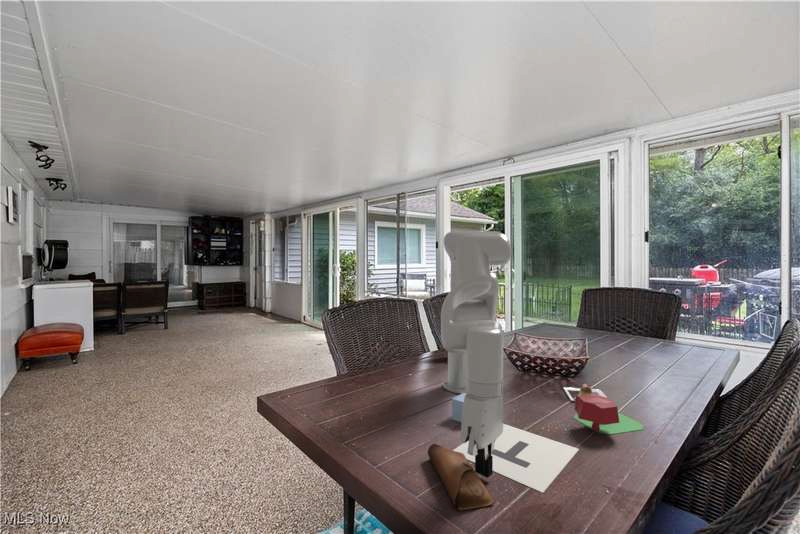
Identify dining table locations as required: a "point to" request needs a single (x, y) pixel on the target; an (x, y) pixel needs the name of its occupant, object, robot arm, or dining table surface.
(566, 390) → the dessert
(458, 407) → the blue cube
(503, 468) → the letter mat
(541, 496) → the dining table surface
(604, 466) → the dining table surface
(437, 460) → the sunglasses case
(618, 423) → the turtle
